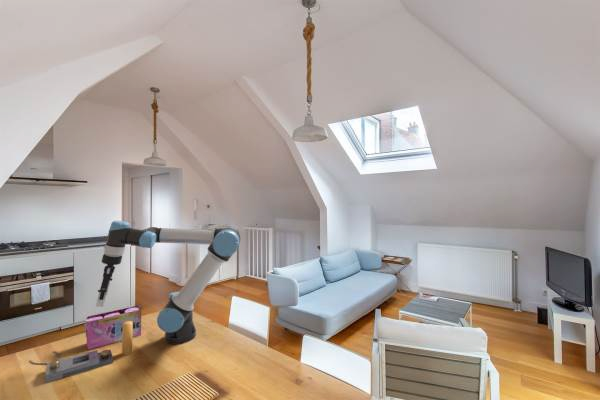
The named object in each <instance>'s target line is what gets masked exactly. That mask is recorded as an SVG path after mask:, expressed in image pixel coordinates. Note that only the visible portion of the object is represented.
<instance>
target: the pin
mask: <svg viewBox="0 0 600 400" xmlns="http://www.w3.org/2000/svg"><path fill="white" fill-rule="evenodd" d="M132 336H133V322H132V321H127V322H124V323H123V329H122V346H121V347H122V349H121V354H122V356H130V355H131V354H133V337H132Z"/></svg>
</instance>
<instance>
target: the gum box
mask: <svg viewBox="0 0 600 400" xmlns="http://www.w3.org/2000/svg"><path fill="white" fill-rule="evenodd" d="M141 308H142V307H140V306H139V305H133V306H130V307H125V308H120V309H116V310H110V311H106V312H102V313H101V312H100V313H97V314H93V315H88V316H87V317H86V318H85V321H84V324H83V326H84V328H85V337H86V347H87V349H88V350H91V349H96V348H100V347H103V346H107V345H111V344H113V343H117V342H121V341H122V329H123V323H124V322H127V321H132V322H133V336H132V338H136V337H139V336H141V335H142V309H141Z"/></svg>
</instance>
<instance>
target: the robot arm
mask: <svg viewBox="0 0 600 400" xmlns="http://www.w3.org/2000/svg"><path fill="white" fill-rule="evenodd" d="M162 243H163V244H164V243H165V244H182V245H183V244H185V245H186V244H187V245H208V247H207V254H206V255H205V257H204V258H203V259H202V260H201V262H200V263H199V264H198V266H197V267H196V268H195V270H194V272H192V274H191V276H190V277H189V279H188V280H187V281H186V282H185V284H184V286H182V287H181V289H180V290H179V291H174V292H171V293H169V294H168V302H167V303H166V304H165V306H164V307H163V309H162V310H160V311H159V313H158V315H157V317H156V322H157V326H158V328H159V329H160V330H161V331H163V332H165V333H164V338H163V339H164V341H165V343H168V344H173V345H177V344H183V343H186V342H189V341H191V340H193V339H194V338H195V337H196V336H197V329H196V326H195V323H194V320H193V317H194V315H193V310H194V309H195V305H194V303H195V302H196V301H197V300H198V299H199V297H200V295H201V294H202V293H203V292H204V290H205V289H206V287H207V286H208V284H209V283H210V282H211V280H212V278H213V277H214V276H215V274H216V273H217V272H218V271H219V269H220V268H221V266H222V265H223V264H224V263H228V262H229V260H230V259H231V258H232V256H233V255H234V254H235V253H236V252H237V251H238V249H239V247H240V243H241V235H240V233H239V232H238V231H237V229H234V228H232V227H226V228H225V227H224V228H214V229H195V228H194V229H193V228H192V229H191V228H190V229H189V228H187V229H186V228H166V227H163V228H162V227H157V226H155V227H154V226H149V227H147V228H144V229H139V228H138V229H136V228H133V227H131V223H130V222H127V221H125V220H124V221H123V220H114V221H112V222H111V223H110V227H109V230H108V233H107V237H106V241H105V245H104V246H103V247H102V249H104V250H103V251H104V252H103V254H102V258H101V264H104V265H105V266H104V268H103V274H102V281H101V285H100V288H99V289H97V292H98V296H97V299H96V305H95V307H97V308H98V307H104V305H105V300H106V297H107V296H108V292H109V288H110V284H111V282H112V281H113V278H112V277H113V273H114V272H115V269H116V266H117V265H120V264H121V263H122V259H123V255H124V253H125V248H126V245H131V246H134V247H139V248H143V249H144V248H146V249H151V248H153V247H154V245H155V244H162Z"/></svg>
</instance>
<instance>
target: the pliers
mask: <svg viewBox="0 0 600 400" xmlns="http://www.w3.org/2000/svg"><path fill="white" fill-rule="evenodd" d="M52 353H55V354H56V355H57V356H56V358H55V360H60V357H61V354H60V353H59V352H58V351H56V350H55V351H54V350H53V352H52ZM29 363H30V364H32V365H40V366H43V365H45V366H47V363H48V362H33V360H29Z"/></svg>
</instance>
